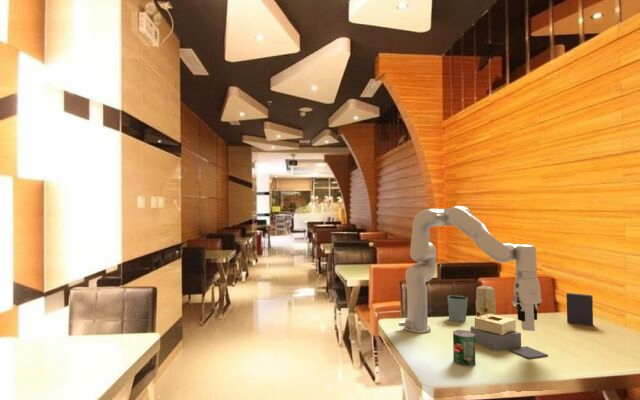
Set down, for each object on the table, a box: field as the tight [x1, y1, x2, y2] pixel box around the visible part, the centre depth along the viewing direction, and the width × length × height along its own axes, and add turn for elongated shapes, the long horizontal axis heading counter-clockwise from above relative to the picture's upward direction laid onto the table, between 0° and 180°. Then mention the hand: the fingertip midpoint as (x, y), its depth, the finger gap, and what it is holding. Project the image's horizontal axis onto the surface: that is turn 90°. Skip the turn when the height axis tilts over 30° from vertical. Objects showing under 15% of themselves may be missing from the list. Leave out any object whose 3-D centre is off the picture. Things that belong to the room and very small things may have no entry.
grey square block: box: [470, 325, 522, 352], centre depth 163 cm, size 14×14×6 cm
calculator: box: [566, 292, 594, 327], centre depth 194 cm, size 11×4×15 cm, turn 58°
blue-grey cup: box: [447, 294, 469, 323], centre depth 200 cm, size 10×10×12 cm
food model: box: [475, 285, 497, 317], centre depth 188 cm, size 10×7×20 cm
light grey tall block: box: [520, 304, 536, 332], centre depth 152 cm, size 4×4×11 cm
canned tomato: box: [452, 329, 477, 368], centre depth 142 cm, size 8×8×11 cm
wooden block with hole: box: [474, 314, 517, 335], centre depth 163 cm, size 14×12×4 cm
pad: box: [507, 345, 549, 360], centre depth 151 cm, size 10×10×1 cm
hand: (527, 319), depth 152 cm, fingers closed on light grey tall block, 5 cm apart
